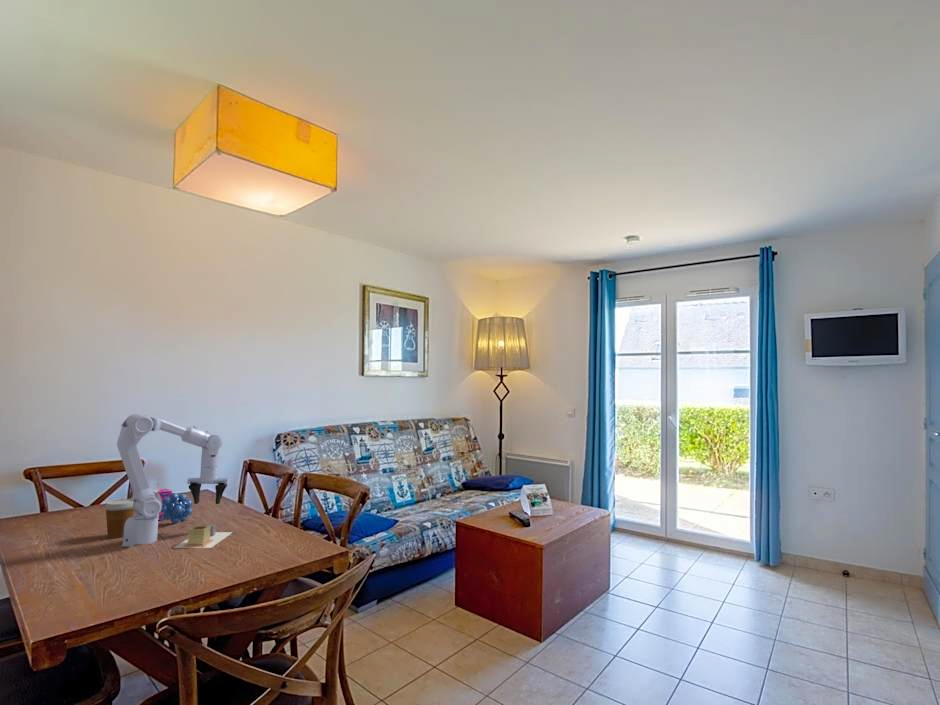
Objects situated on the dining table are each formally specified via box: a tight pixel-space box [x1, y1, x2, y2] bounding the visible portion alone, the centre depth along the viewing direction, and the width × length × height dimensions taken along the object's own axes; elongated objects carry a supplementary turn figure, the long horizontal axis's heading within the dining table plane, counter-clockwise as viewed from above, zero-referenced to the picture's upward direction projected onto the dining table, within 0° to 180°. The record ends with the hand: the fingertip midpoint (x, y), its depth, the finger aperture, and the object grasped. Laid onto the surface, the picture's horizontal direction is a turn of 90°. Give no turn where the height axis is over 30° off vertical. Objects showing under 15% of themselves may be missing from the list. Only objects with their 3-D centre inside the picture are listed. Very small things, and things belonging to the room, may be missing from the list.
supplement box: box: [151, 488, 173, 521], centre depth 204 cm, size 6×6×12 cm
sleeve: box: [187, 525, 211, 545], centre depth 171 cm, size 5×5×5 cm
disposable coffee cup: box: [104, 498, 135, 539], centre depth 181 cm, size 10×10×12 cm
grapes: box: [161, 492, 194, 524], centre depth 197 cm, size 12×7×12 cm, turn 132°
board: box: [173, 524, 233, 549], centre depth 176 cm, size 12×18×4 cm, turn 4°
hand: (207, 503), depth 188 cm, fingers open, 7 cm apart
